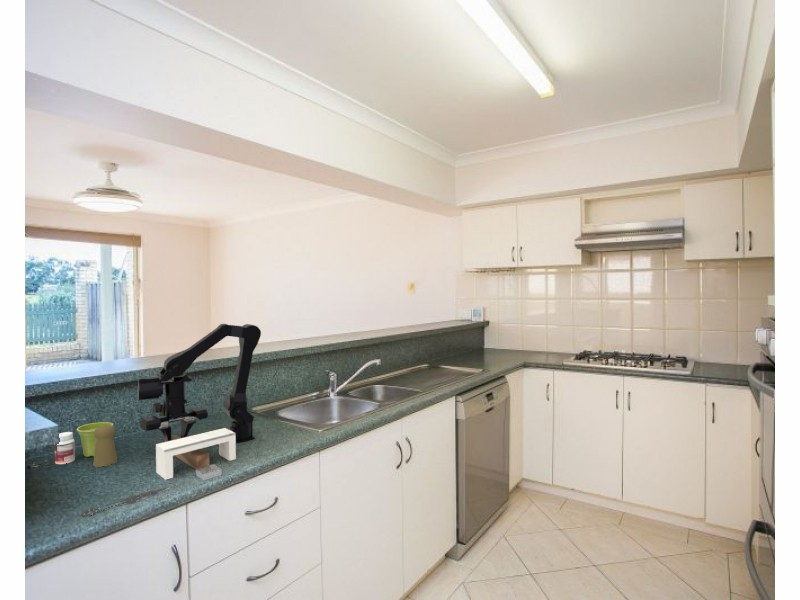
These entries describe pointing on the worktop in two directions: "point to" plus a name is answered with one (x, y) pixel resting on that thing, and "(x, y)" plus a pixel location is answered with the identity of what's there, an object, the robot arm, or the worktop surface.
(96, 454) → the cork
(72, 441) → the pill bottle
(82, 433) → the plant pot
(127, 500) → the throwing knife
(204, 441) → the white bridge block
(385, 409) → the worktop surface
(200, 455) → the walnut bar
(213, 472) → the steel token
